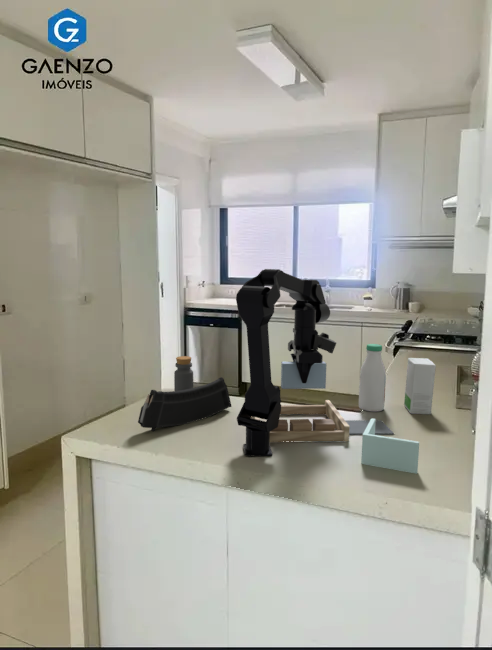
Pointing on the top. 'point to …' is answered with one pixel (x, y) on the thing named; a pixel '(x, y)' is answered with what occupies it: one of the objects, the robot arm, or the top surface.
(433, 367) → the skincare box
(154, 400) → the magazine
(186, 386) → the bottle
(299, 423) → the offcut
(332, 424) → the offcut
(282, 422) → the offcut
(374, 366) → the milk bottle
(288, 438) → the frame
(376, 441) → the l-shaped corner panel
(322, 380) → the light blue rectangular panel
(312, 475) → the top surface
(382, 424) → the mat
